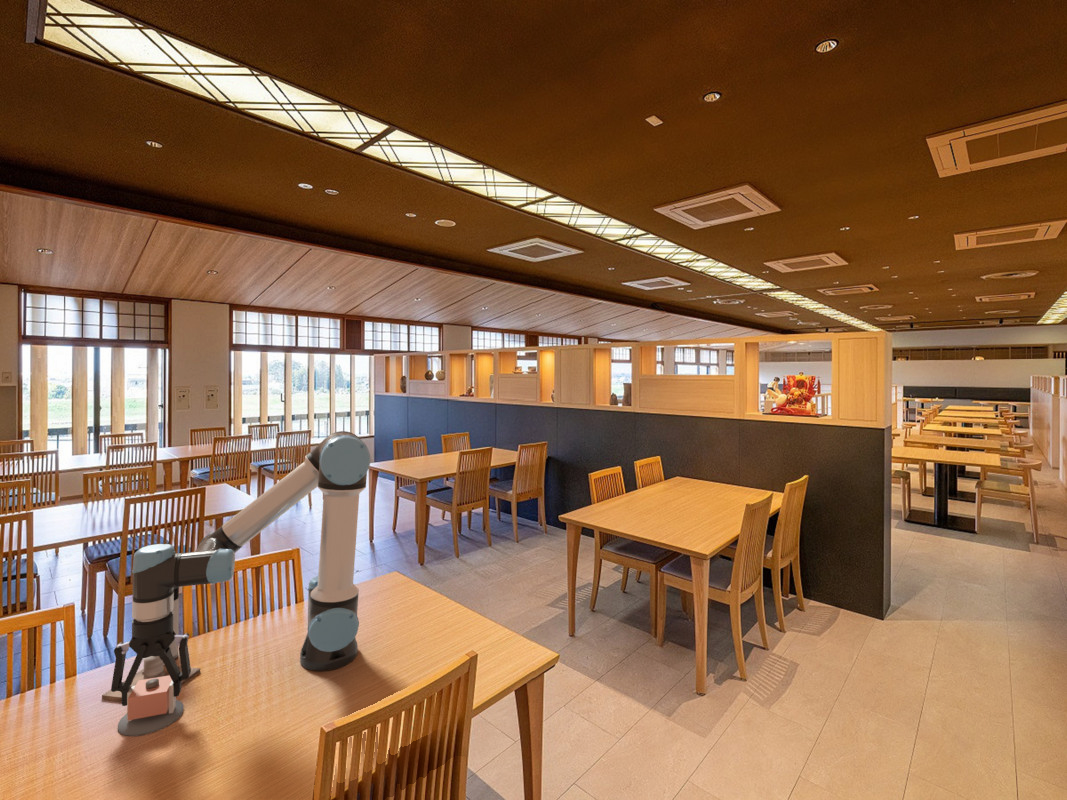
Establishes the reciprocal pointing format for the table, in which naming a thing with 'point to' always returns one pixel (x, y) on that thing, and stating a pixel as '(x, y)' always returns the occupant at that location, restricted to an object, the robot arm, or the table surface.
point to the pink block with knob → (149, 698)
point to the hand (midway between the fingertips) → (151, 713)
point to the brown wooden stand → (149, 675)
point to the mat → (149, 722)
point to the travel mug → (175, 622)
